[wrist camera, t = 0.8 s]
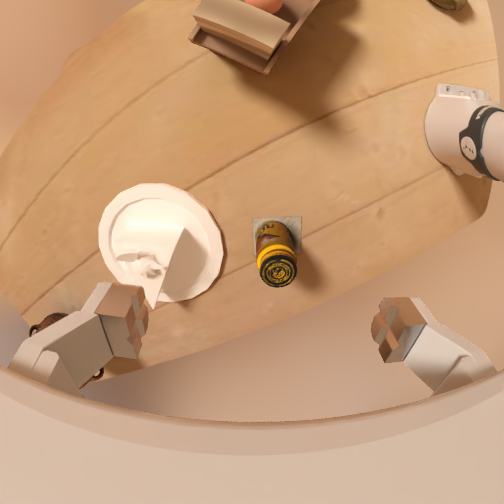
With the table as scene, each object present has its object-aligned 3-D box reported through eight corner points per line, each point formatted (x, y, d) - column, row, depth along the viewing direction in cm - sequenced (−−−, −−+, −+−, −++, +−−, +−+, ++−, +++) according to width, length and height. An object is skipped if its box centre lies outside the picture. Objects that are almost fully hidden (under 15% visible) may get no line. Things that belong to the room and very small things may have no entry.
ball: (271, -11, 21) (274, -25, 18) (286, 14, 23) (291, 2, 20) (238, -1, 22) (237, -14, 18) (253, 24, 24) (254, 13, 20)
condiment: (252, 218, 47) (253, 253, 37) (301, 216, 47) (316, 250, 36) (254, 255, 51) (256, 296, 40) (300, 252, 50) (313, 292, 40)
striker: (267, 60, 27) (272, 48, 21) (203, 31, 24) (192, 14, 18) (282, 39, 25) (290, 23, 19) (217, 10, 23) (210, -10, 17)
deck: (263, 81, 36) (268, 73, 27) (201, 53, 33) (187, 38, 24) (318, 2, 28) (337, -21, 19) (259, -26, 25) (262, -55, 16)
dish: (93, 184, 43) (59, 206, 33) (226, 185, 44) (220, 209, 34) (112, 291, 55) (93, 326, 45) (222, 301, 56) (218, 342, 47)
